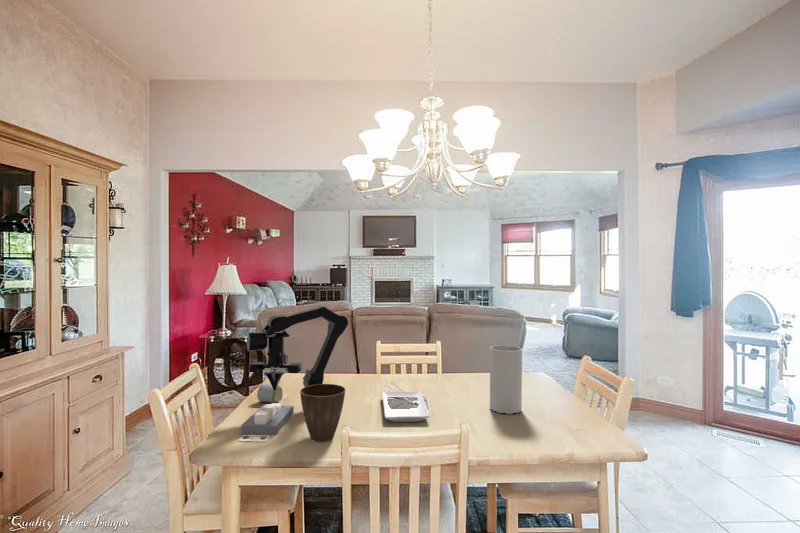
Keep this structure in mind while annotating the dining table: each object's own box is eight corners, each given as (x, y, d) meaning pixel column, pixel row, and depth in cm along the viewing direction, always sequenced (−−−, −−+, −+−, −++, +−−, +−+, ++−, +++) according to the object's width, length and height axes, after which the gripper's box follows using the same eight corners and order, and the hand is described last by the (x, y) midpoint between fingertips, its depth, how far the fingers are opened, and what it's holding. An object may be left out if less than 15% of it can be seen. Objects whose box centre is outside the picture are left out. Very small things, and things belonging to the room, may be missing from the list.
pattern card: (270, 436, 141) (270, 434, 141) (265, 441, 136) (265, 440, 136) (244, 435, 141) (244, 434, 141) (238, 441, 137) (238, 439, 137)
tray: (384, 425, 153) (384, 416, 153) (381, 398, 184) (382, 390, 184) (430, 425, 154) (430, 415, 154) (420, 398, 185) (420, 390, 185)
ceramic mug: (273, 405, 172) (274, 386, 173) (256, 403, 175) (256, 385, 175) (287, 398, 183) (288, 380, 183) (271, 396, 185) (271, 379, 185)
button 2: (282, 413, 162) (282, 403, 162) (278, 417, 158) (279, 406, 158) (271, 413, 162) (272, 403, 162) (268, 417, 158) (268, 406, 158)
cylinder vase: (526, 409, 171) (527, 348, 171) (511, 417, 162) (512, 352, 162) (499, 402, 180) (500, 344, 180) (483, 409, 170) (484, 348, 171)
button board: (293, 413, 163) (293, 405, 163) (276, 435, 142) (276, 426, 142) (262, 412, 163) (263, 405, 163) (241, 434, 142) (241, 425, 142)
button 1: (269, 422, 148) (270, 410, 148) (266, 426, 144) (266, 414, 144) (258, 422, 148) (258, 410, 148) (254, 426, 144) (254, 414, 144)
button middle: (276, 415, 155) (276, 404, 155) (272, 419, 151) (272, 408, 151) (265, 415, 155) (265, 404, 155) (261, 418, 151) (261, 407, 151)
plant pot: (307, 427, 149) (308, 382, 149) (349, 430, 147) (349, 384, 147) (292, 445, 134) (293, 395, 134) (338, 448, 132) (339, 397, 133)
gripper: (305, 345, 168) (304, 384, 168) (259, 344, 168) (258, 383, 168) (298, 351, 157) (297, 393, 156) (248, 350, 157) (247, 391, 157)
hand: (275, 390), depth 160 cm, fingers closed
